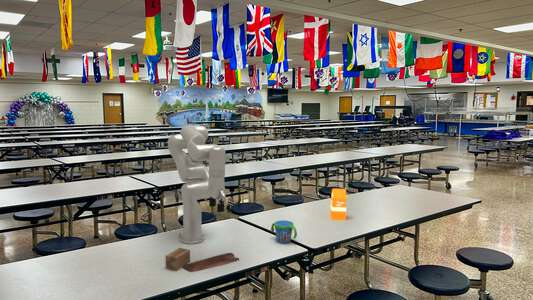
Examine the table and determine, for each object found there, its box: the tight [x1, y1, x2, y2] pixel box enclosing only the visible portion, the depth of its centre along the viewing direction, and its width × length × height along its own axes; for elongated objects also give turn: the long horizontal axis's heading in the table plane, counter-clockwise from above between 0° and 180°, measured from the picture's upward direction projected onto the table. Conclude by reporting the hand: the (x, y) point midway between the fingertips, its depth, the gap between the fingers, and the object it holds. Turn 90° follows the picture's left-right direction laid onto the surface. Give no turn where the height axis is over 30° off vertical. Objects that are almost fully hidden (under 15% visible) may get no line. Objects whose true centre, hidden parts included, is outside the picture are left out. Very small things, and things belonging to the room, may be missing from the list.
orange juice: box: [329, 188, 347, 221], centre depth 236 cm, size 8×9×20 cm
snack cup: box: [270, 219, 298, 244], centre depth 194 cm, size 16×10×10 cm
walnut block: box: [165, 247, 191, 271], centre depth 163 cm, size 6×10×6 cm, turn 157°
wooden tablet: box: [181, 252, 240, 273], centre depth 167 cm, size 26×2×10 cm
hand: (216, 209), depth 169 cm, fingers open, 9 cm apart
